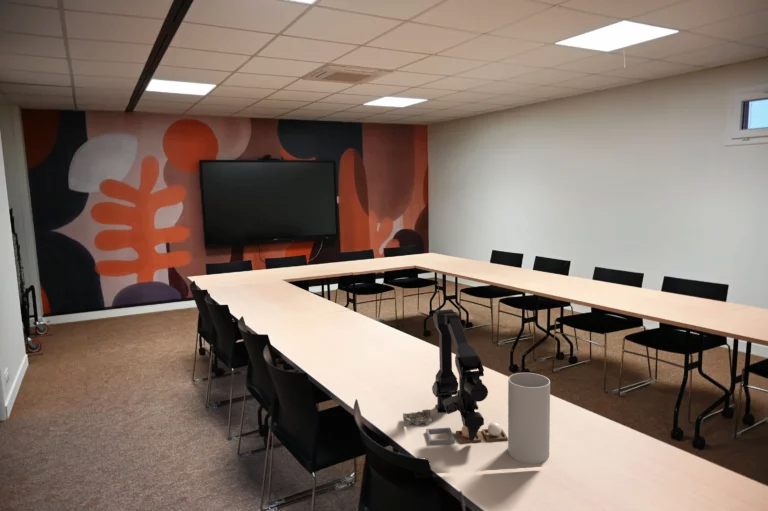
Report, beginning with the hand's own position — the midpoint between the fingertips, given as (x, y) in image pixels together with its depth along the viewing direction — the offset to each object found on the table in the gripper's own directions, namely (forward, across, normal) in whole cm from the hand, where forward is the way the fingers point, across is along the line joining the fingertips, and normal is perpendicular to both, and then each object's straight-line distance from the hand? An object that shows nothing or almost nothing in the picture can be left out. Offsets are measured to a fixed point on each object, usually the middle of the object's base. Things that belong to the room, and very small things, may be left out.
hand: (468, 433), depth 169 cm
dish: (+2, -1, -10) cm, 10 cm away
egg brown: (+1, 0, 0) cm, 1 cm away
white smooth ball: (+1, 0, +9) cm, 9 cm away
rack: (+2, 0, +4) cm, 5 cm away
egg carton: (+3, -15, -16) cm, 22 cm away
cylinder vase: (+2, +12, +16) cm, 21 cm away
